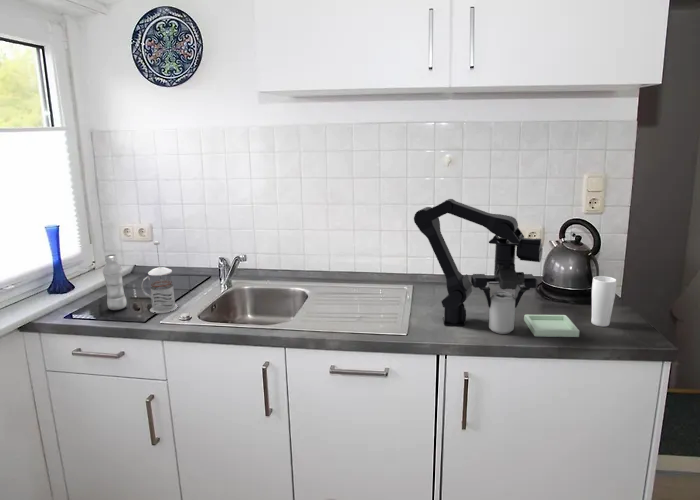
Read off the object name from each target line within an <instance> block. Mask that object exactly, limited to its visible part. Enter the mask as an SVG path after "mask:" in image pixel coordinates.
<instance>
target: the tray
mask: <svg viewBox="0 0 700 500" xmlns="http://www.w3.org/2000/svg"><path fill="white" fill-rule="evenodd" d="M523 321H524V322H525V325H526V326H527V328H529V330H530V332H531V333H532V335H533V337H541V338H542V337H545V338H546V337H549V338H550V337H553V338H554V337H555V338H557V337H559V338H561V337H562V338H579V337H580V329H578V327H577V326H576V325H575V323H574V322H573V321H572V320H571V319H570V318H569V317H568V316H567V315H566V314H524V317H523Z"/></svg>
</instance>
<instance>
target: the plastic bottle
mask: <svg viewBox="0 0 700 500" xmlns="http://www.w3.org/2000/svg"><path fill="white" fill-rule="evenodd" d="M104 259H105V261H104V262H106V263H105V265H104V266H103V268H102V275H103V277H104V278H103V279H104V281H105V285H106V293H107V295H106V297H107V298H106V304H107V307H108V309H109V310H111V311H119V310H120V311H121V310H123V309H125V308H126V306H127V297H126V296H125V292H124V291H125V290H124V286H123V285H124V284H123V268H122V266H121V265H120V264H119V262H117V261H118V259H117V255H116V254H114V253H113V254H107V255H104Z"/></svg>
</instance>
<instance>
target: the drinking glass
mask: <svg viewBox="0 0 700 500" xmlns="http://www.w3.org/2000/svg"><path fill="white" fill-rule="evenodd" d="M616 293H617V279H616V278H615V277H611V276H606V275H605V276H604V275H597V276H593V278H592V283H591V320H590V321H591V324H592V325H593V326H597V327H599V328H600V327H604V328H605V327H609V325H610V324H611V317H612V313H613V307H614V302H615V298H616Z"/></svg>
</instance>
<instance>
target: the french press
mask: <svg viewBox="0 0 700 500" xmlns="http://www.w3.org/2000/svg"><path fill="white" fill-rule="evenodd" d="M153 244H154V245H155V246H156V251H157V254H159V248H158V246H159V245H160V241H158V240H155V241H154V242H153ZM157 259H158V262H160V258H159V255H157ZM172 272H173V270H172V269H170V268H168V267H166V266H165V267H164V266H161V265H160V264H158V267H155V268H152V269H151V270H150V271H148V272H147V274H148V276H146V277H144V278H143V280H142V282H141V285H140V289H141V291H142V293H143V295H145V296H146V297H148V298H150V301H151V308H150V309H149V312H151V313H154V312H156V313H154V314H165V313H169V312H170V311H171V312H174V311H176V310H177V309H178V308H179V306H177V305H178V304H176V300H175V290H174V284H172V283H173V282H172V280H170V279H162V276H167V275H170V274H171V273H172ZM151 277H159V278H160V279H159V280H154V281H152V282H151V283H150V285H151V287H150V294H148V293H147V292H146V291H145V289H144V285H143V283H144V282H145V280H147V279H148V281H149V282H150V281H151ZM177 307H178V308H177ZM176 308H177V309H176ZM175 309H176V310H175ZM173 310H174V311H173Z"/></svg>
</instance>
